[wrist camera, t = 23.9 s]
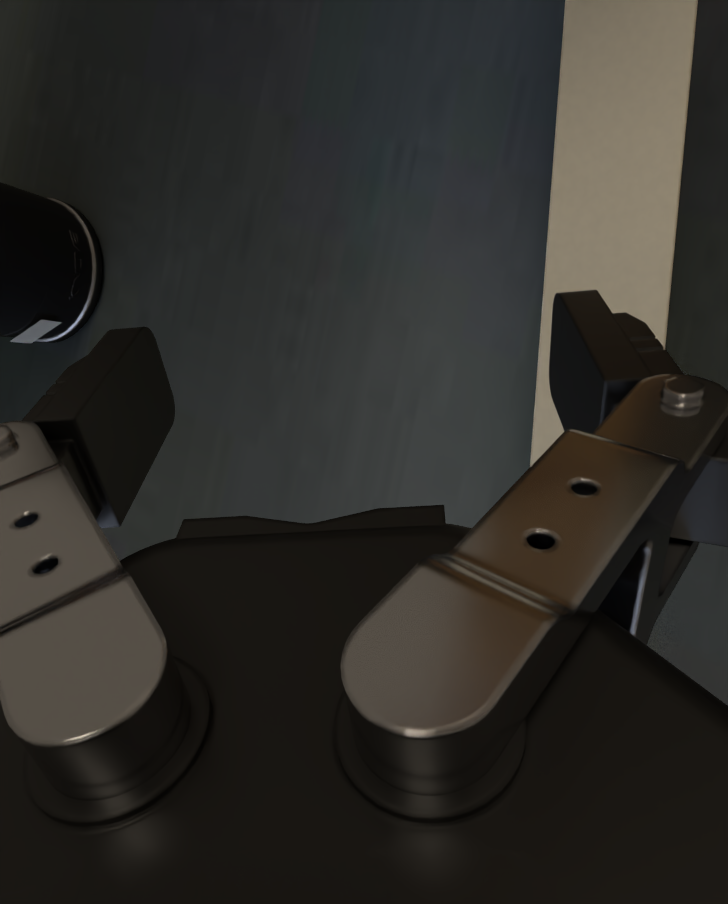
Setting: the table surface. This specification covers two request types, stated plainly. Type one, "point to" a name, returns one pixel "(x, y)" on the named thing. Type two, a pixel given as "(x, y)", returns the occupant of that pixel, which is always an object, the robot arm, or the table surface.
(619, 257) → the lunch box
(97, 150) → the table surface
